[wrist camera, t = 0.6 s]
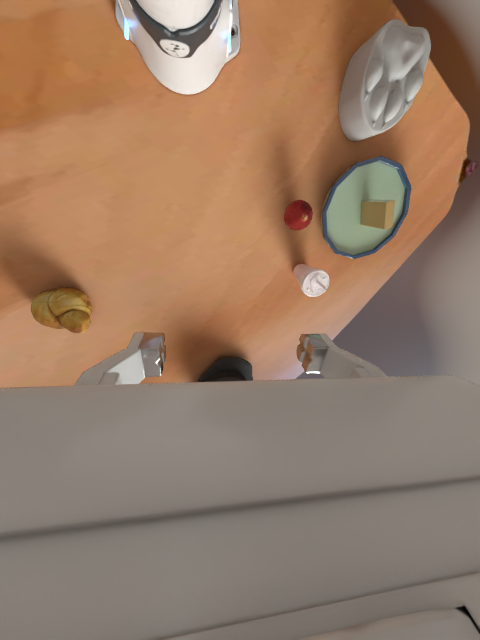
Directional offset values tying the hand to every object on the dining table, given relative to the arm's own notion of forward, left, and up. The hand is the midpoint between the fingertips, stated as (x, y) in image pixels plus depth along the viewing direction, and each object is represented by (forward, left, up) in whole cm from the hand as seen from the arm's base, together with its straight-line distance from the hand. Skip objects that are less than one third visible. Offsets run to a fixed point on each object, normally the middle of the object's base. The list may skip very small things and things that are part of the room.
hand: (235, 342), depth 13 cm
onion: (-5, +18, -44) cm, 47 cm away
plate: (-7, +34, -41) cm, 54 cm away
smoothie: (+8, +23, -44) cm, 50 cm away
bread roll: (+19, -34, -44) cm, 58 cm away
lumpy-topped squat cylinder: (-26, +28, -43) cm, 58 cm away
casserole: (+47, +6, -44) cm, 64 cm away
